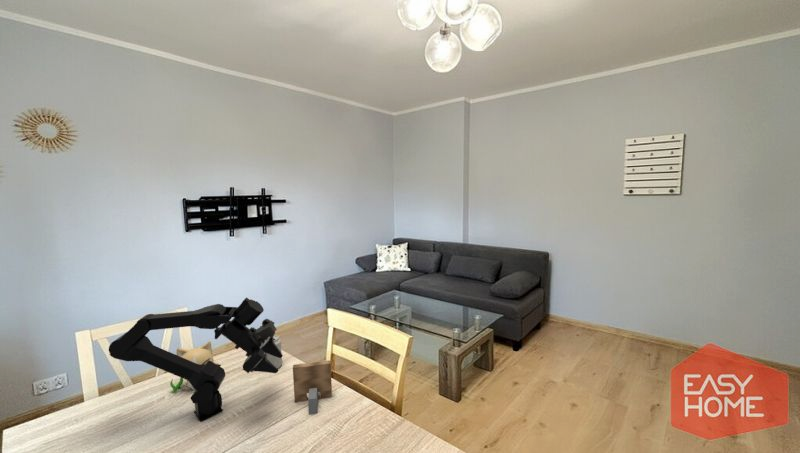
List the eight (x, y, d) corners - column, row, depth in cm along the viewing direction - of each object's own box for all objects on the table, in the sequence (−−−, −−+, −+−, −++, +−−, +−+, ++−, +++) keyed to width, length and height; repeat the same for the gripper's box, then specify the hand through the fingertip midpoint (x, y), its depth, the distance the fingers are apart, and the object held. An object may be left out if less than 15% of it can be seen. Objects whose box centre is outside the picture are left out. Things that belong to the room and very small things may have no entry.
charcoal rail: (317, 413, 102) (316, 398, 102) (308, 414, 102) (308, 399, 101) (318, 386, 116) (318, 373, 115) (311, 387, 115) (310, 374, 115)
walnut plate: (294, 402, 108) (292, 368, 106) (295, 398, 109) (293, 364, 108) (331, 397, 110) (330, 363, 108) (331, 393, 112) (330, 360, 110)
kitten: (169, 400, 110) (165, 358, 108) (172, 384, 118) (168, 345, 116) (220, 385, 117) (217, 346, 115) (219, 372, 126) (216, 335, 124)
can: (268, 374, 124) (266, 344, 122) (258, 367, 128) (256, 338, 127) (286, 365, 130) (284, 336, 128) (275, 359, 134) (273, 331, 133)
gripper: (251, 328, 94) (293, 360, 97) (264, 305, 112) (299, 333, 116) (224, 357, 93) (267, 388, 97) (241, 329, 111) (277, 356, 115)
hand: (279, 363), depth 106 cm, fingers open, 9 cm apart
